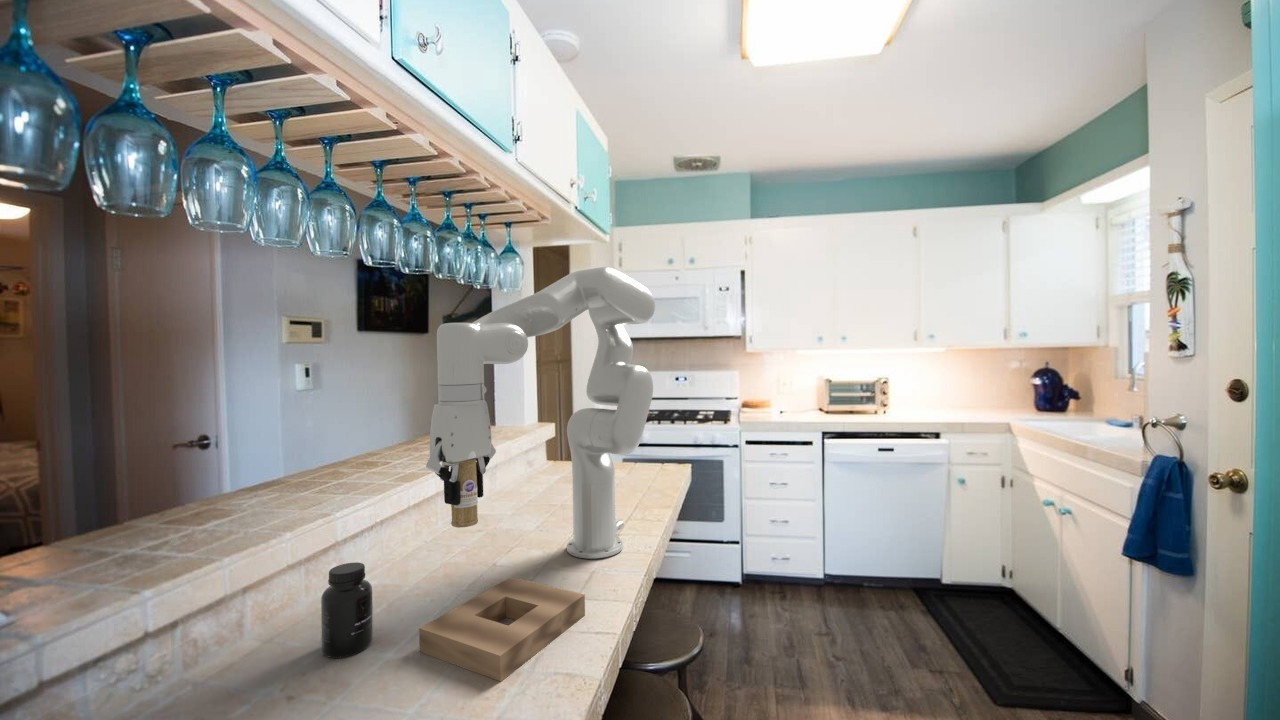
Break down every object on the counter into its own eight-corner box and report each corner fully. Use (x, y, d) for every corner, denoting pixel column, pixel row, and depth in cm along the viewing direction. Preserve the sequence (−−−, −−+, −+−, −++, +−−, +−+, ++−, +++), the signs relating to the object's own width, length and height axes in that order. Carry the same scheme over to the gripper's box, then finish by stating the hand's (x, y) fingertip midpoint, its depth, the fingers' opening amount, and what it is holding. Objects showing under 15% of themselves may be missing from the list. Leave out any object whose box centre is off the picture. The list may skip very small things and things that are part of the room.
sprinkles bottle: (463, 530, 88) (461, 450, 87) (445, 525, 90) (443, 447, 90) (484, 522, 92) (482, 445, 91) (466, 518, 94) (464, 443, 94)
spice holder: (512, 595, 96) (511, 576, 96) (585, 615, 88) (584, 594, 88) (419, 651, 78) (419, 628, 78) (500, 681, 70) (500, 655, 70)
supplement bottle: (368, 655, 77) (366, 574, 77) (315, 663, 75) (313, 580, 75) (377, 631, 84) (375, 556, 84) (329, 638, 82) (327, 562, 82)
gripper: (482, 390, 100) (485, 486, 100) (404, 398, 85) (407, 510, 85) (512, 391, 96) (514, 490, 96) (435, 399, 81) (438, 517, 81)
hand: (464, 499), depth 91 cm, fingers closed on sprinkles bottle, 4 cm apart
